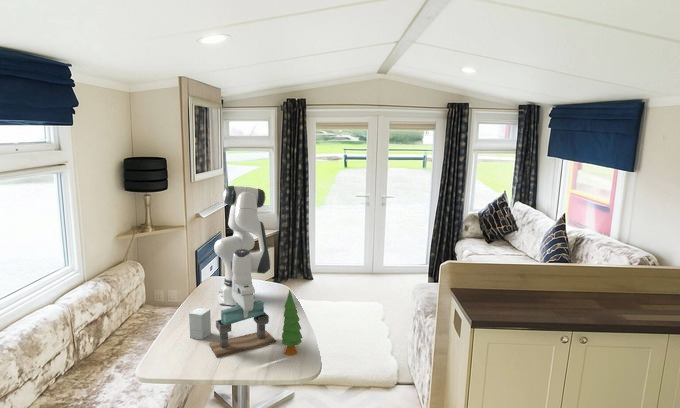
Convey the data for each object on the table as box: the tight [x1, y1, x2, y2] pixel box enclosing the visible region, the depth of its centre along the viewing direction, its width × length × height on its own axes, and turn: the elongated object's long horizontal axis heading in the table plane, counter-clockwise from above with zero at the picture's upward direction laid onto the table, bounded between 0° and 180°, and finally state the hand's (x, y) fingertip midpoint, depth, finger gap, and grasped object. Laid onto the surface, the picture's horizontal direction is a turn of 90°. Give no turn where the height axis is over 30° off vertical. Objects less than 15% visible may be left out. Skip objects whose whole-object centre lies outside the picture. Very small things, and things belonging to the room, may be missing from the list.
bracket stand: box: [208, 311, 276, 358], centre depth 194 cm, size 12×28×13 cm, turn 122°
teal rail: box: [220, 299, 265, 326], centre depth 193 cm, size 4×20×6 cm, turn 133°
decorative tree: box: [281, 289, 303, 356], centre depth 187 cm, size 10×9×30 cm
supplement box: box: [188, 307, 212, 341], centre depth 202 cm, size 7×7×13 cm
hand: (242, 313), depth 193 cm, fingers open, 8 cm apart
